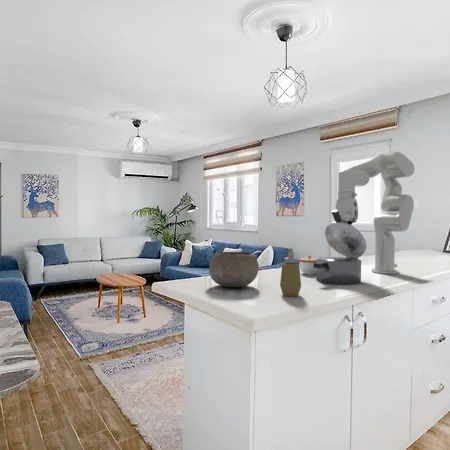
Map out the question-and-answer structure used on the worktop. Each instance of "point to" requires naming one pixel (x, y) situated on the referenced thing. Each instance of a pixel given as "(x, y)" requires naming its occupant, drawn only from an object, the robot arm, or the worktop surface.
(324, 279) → the cooker pot
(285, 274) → the squeeze bottle
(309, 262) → the lidded jar
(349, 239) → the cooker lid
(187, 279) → the worktop surface
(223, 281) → the clay pot
